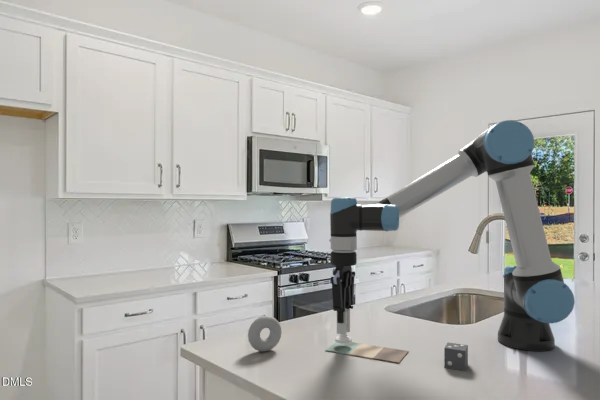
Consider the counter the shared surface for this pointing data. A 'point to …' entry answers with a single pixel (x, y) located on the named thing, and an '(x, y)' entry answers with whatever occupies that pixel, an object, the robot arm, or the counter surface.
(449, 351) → the die
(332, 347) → the track
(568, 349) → the counter surface
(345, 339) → the chess piece
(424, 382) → the counter surface
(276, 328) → the donut
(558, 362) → the counter surface
